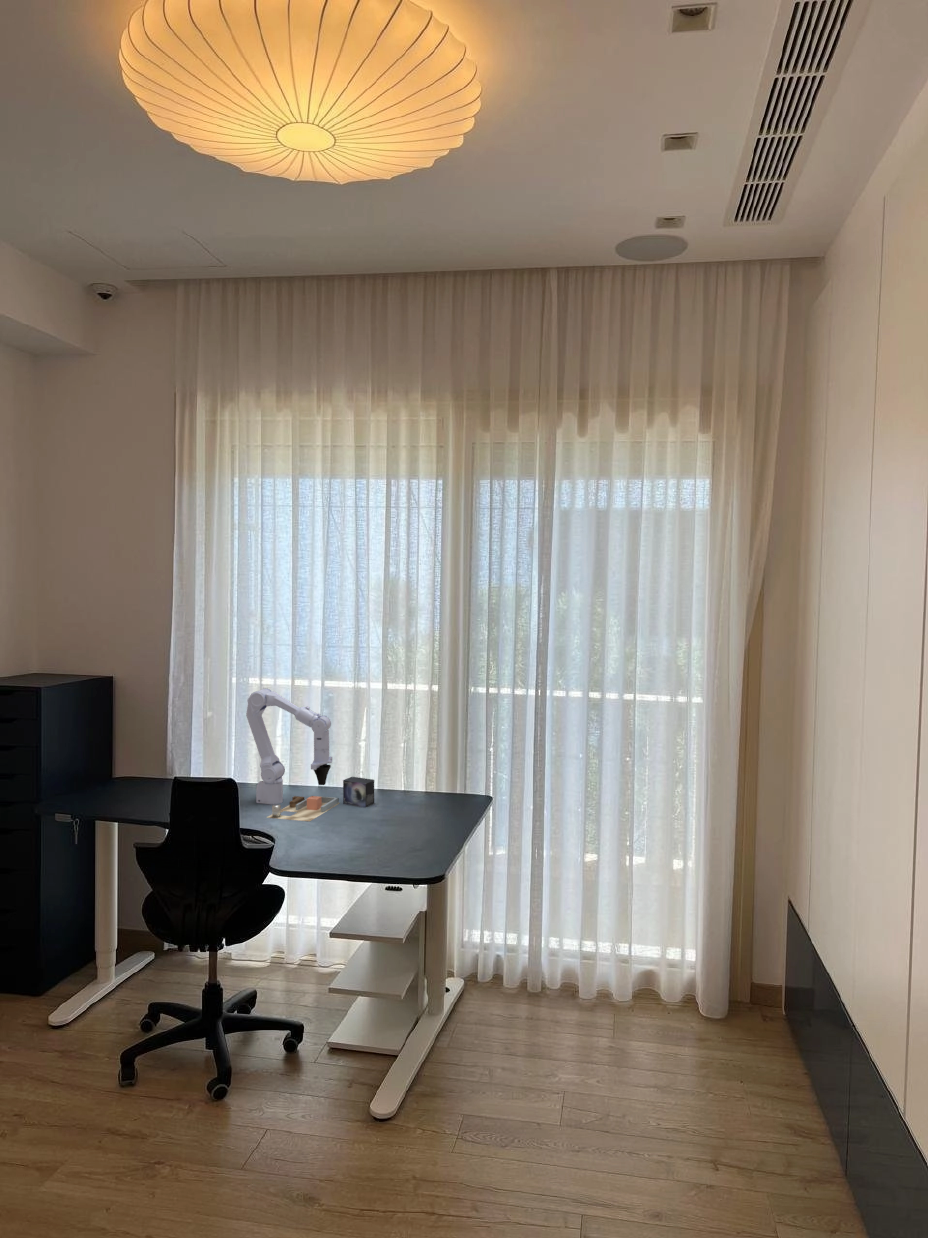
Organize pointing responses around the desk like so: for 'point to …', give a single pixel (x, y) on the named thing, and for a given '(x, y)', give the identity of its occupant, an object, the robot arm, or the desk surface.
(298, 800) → the walnut bar
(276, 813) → the grey metal peg
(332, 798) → the grey rectangular frame
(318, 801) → the coral cube
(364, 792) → the small box
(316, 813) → the birch board
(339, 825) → the desk surface
